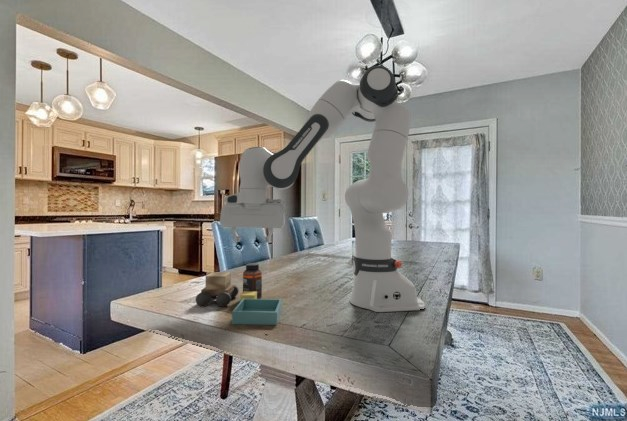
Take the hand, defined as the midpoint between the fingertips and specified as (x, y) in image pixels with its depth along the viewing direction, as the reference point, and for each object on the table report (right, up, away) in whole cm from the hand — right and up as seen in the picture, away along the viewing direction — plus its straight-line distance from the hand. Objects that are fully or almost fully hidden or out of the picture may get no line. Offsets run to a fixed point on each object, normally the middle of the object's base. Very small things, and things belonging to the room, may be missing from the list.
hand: (252, 241), depth 97 cm
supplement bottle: (0, -19, 0) cm, 19 cm away
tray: (+5, -18, -15) cm, 25 cm away
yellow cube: (0, -18, -7) cm, 20 cm away
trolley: (-10, -18, -3) cm, 21 cm away
